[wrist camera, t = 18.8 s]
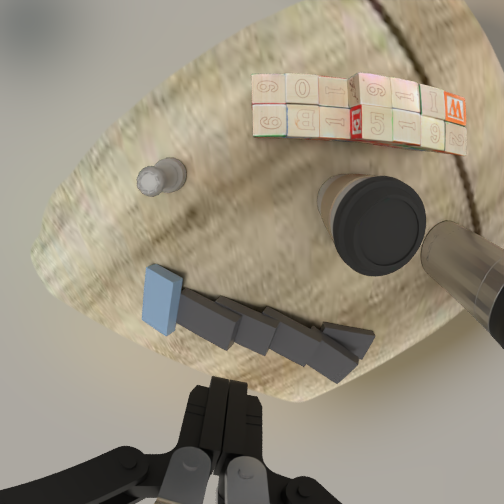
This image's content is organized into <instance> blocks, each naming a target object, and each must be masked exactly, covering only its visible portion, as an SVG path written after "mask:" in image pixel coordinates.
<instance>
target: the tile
mask: <svg viewBox="0 0 504 504" xmlns="http://www.w3.org/2000/svg"><path fill="white" fill-rule="evenodd" d="M182 281H183V278H181V277H179V276H178V275H176V274H174V273H172V272H170V271H169V270H167V269H165V268H163V267H161V266H160V265H158V264H154V265H151V266H148V267H146V275H145V285H144V297H143V310H142V320H143V321H144V322H146V323H147V324H149V325H150V326H152V327H153V328H155V329H156V330H157V331H159V332H160V333H162V334H163V335H165V336H168V335H169V334H171V333H172V332H174V331H175V326H176V319H177V312H178V306H179V300H180V293H181V287H182Z"/></svg>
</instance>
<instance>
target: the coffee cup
mask: <svg viewBox="0 0 504 504" xmlns="http://www.w3.org/2000/svg"><path fill="white" fill-rule="evenodd" d="M317 205H318V210H319V212H320V214H321V216H322V219H323V222H324V224H325V226H326V228H327V230H328V232H329V234H330V236H331V238H332V240H333V242H334V244H335V247H336V249H337V252H338V254H339V255H340V257H341V258H342V260H343V261H344V262H345V263H346V264H347V265H348V266H350V267H351V268H352V269H353V270H355V271H356V272H358V273H360V274H363V275H367V276H383V275H387V274H390V273H392V272H395V271H397V270H398V269H400V268H401V267H403V266H404V265H405V264H407V263H408V262H409V261H410V260H411V259H412V257H413V256H414V255H415V253H416V252H417V250H418V249H419V247H420V245H421V243H422V240H423V237H424V234H425V228H426V214H425V209H424V205H423V203H422V201H421V199H420V197H419V195H418V194H417V193H416V192H415V191H414V190H413V189H412V188H411V187H410V186H408V185H407V184H405V183H403V182H402V181H400V180H398V179H396V178H393V177H388V176H375V175H362V174H340V175H335V176H333V177H331V178H329V179H328V180H327V181H326V182H325V183H324V184H323V185H322V187H321V188H320V190H319V193H318V197H317Z"/></svg>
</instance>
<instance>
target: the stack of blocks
mask: <svg viewBox="0 0 504 504" xmlns="http://www.w3.org/2000/svg"><path fill="white" fill-rule="evenodd" d="M251 76H252V111H253V137H254V138H287V139H312V140H336V141H348V142H359V143H369V144H373V145H381V146H388V147H394V148H400V149H406V150H415V151H431V152H437V153H445V154H454V155H461V156H466V136H467V128H466V127H465V126H466V106H465V98H464V97H461V96H458V95H455V94H452V93H449V92H446V91H443V90H442V89H438V88H435V87H431V86H427V85H423V84H417V83H416V82H413V81H409V80H404V79H399V78H394V77H387V76H382V75H376V74H370V73H362V72H358V73H357V74H355V75H354V76H352V77H350V78H349V79H345V78H336V77H327V76H318V75H313V74H299V73H285V74H252V75H251Z"/></svg>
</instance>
